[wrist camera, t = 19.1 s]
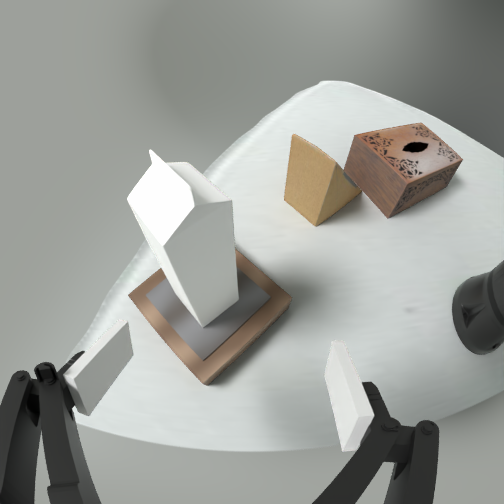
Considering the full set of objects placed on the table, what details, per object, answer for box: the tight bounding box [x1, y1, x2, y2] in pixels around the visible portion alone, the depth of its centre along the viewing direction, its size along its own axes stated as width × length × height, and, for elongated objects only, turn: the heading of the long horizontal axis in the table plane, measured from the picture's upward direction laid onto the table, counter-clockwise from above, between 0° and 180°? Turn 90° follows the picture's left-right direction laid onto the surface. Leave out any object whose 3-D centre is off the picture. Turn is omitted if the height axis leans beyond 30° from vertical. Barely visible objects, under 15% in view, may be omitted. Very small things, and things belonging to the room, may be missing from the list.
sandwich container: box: [284, 134, 362, 226], centre depth 45 cm, size 9×15×15 cm, turn 130°
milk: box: [127, 150, 239, 327], centre depth 26 cm, size 6×6×22 cm
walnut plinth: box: [128, 249, 292, 385], centre depth 38 cm, size 16×16×4 cm
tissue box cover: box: [344, 123, 463, 219], centre depth 52 cm, size 26×14×10 cm, turn 118°
